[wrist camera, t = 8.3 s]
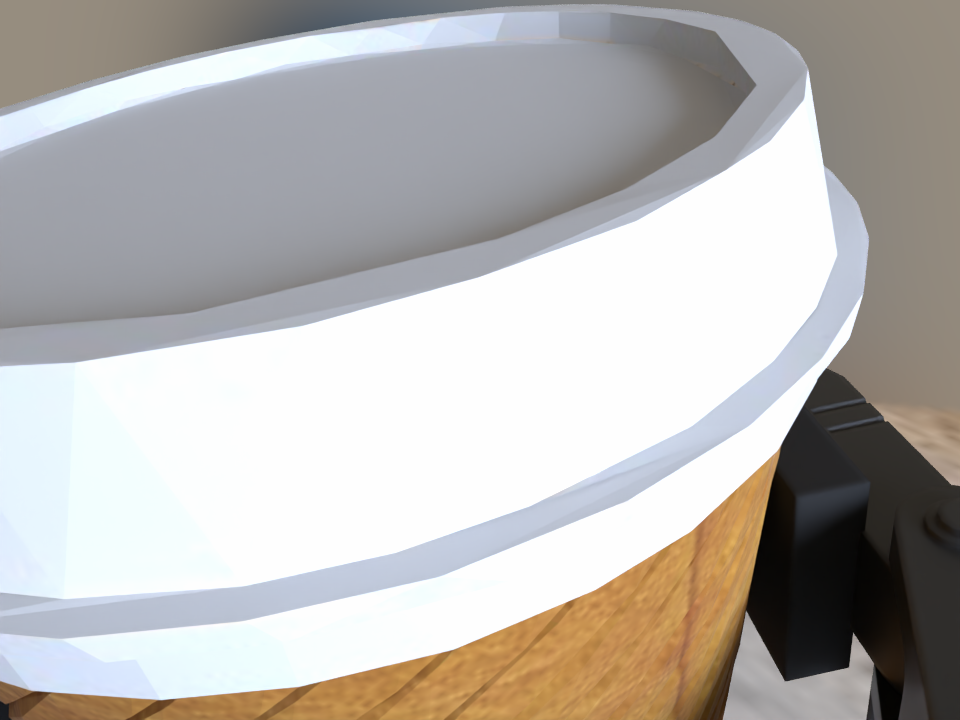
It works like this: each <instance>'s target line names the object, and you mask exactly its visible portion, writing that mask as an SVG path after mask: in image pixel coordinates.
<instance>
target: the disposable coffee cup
mask: <svg viewBox="0 0 960 720" xmlns="http://www.w3.org/2000/svg"><path fill="white" fill-rule="evenodd" d="M868 244H869V237H868V234H867V231H866V228H865V225H864V221H863V218H862V215H861V212H860V209H859V206H858V203H857V202H856V200H855V199H854V198H853V197H852V196H851V194H850V193H849V192H848V191H847V190H846V188H845V187H844V186H843V185H842V184H841V182H840V181H839V180H838V179H837V178H836V177H835V175H834V174H833V173H832V172H831V171H830V170H829V169H827V168H826V167H824V166H823V161H822V155H821V149H820V142H819V136H818V130H817V123H816V117H815V111H814V105H813V98H812V91H811V86H810V79H809V73H808V67H807V66H806V64H805V62H804V60H803V59H802V57H801V55H800V54H799V52H798V50H796V49H795V48H794V47H792V46H791V45H790V44H788V43H787V42H786V41H784V40H783V39H782V38H780V37H779V36H778V35H776V34H775V33H773V32H770V31H768V30H765V29H763V28H760V27H757V26H755V25H752V24H749V23H746V22H744V21H741V20H736V19H731V18H726V17H721V16H717V15H712V14H707V13H702V12H697V11H686V10H674V9H661V8H649V7H635V6H624V5H610V4H593V5H592V4H589V5H546V6H545V5H543V6H518V7H498V8H488V9H479V10H470V11H459V12H450V13H441V14H431V15H422V16H412V17H403V18H394V19H384V20H376V21H368V22H363V23H357V24H351V25H345V26H339V27H333V28H327V29H322V30H316V31H311V32H305V33H299V34H293V35H287V36H281V37H276V38H270V39H264V40H259V41H254V42H250V43H245V44H240V45H235V46H231V47H226V48H222V49H216V50H211V51H207V52H202V53H197V54H192V55H187V56H183V57H179V58H175V59H171V60H167V61H163V62H160V63H155V64H152V65H148V66H144V67H140V68H137V69H133V70H129V71H125V72H121V73H117V74H114V75H110V76H106V77H102V78H98V79H94V80H91V81H87V82H84V83H81V84H78V85H75V86H71V87H68V88H65V89H62V90H58V91H55V92H52V93H49V94H46V95H43V96H39V97H36V98H33V99H30V100H27V101H24V102H21V103H17V104H14V105H11V106H8V107H5V108H1V109H0V701H1V702H3V703H4V704H8V703H9V718H10V719H12V720H723V715H724V711H725V706H726V701H727V697H728V692H729V686H730V682H731V677H732V672H733V667H734V663H735V659H736V656H737V652H738V649H739V646H740V640H741V635H742V630H743V624H744V619H745V613H746V608H747V602H748V597H749V592H750V586H751V581H752V575H753V570H754V565H755V560H756V555H757V551H758V546H759V541H760V536H761V531H762V526H763V522H764V517H765V512H766V507H767V502H768V497H769V492H770V488H771V483H772V479H773V475H774V472H775V469H776V465H777V462H778V459H779V454H780V448H781V444H782V442H783V440H784V438H785V437H786V435H787V433H788V431H789V430H790V428H791V426H792V424H793V422H794V421H795V419H796V417H797V415H798V414H799V412H800V410H801V408H802V407H803V405H804V403H805V401H806V400H807V398H808V396H809V394H810V392H811V391H812V389H813V387H814V385H815V384H816V382H817V379H818V378H819V376H820V375H821V374H822V372H823V371H824V370H825V369H826V367H827V366H828V365H829V363H830V362H831V361H832V360H833V358H834V357H835V356H836V355H837V353H838V352H839V350H840V349H841V348H842V347H843V346H844V344H845V343H846V342H847V340H848V339H849V337H850V334H851V331H852V328H853V325H854V321H855V318H856V315H857V312H858V309H859V306H860V302H861V299H862V296H863V293H864V283H865V273H866V263H867V254H868Z"/></svg>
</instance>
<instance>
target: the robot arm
mask: <svg viewBox="0 0 960 720" xmlns="http://www.w3.org/2000/svg"><path fill="white" fill-rule="evenodd" d="M746 611H747V613H748V615H749V616H750V618H751V620H752V622H753V624H754V625H755V627H756V629H757V631H758V633H759V635H760V636H761V638H762V640H763V642H764V644H765V646H766V647H767V649H768V651H769V653H770V655H771V656H772V658H773V660H774V662H775V664H776V666H777V667H778V669H779V671H780V673H781V675H782V676H783V678H784V680H785V681H790V680H794V679H799V678H803V677H808V676H812V675H817V674H821V673H826V672H830V671H835V670H840V669H844V668H849V663H850V654H851V645H852V637H853V633H854V634H855V636H856V637H857V639H858V640H859V642H860V643H861V644H862V646H863V647H864V649H865V650H866V652H867V653H868V655H869V656H870V658H871V659H872V661H873V662H874V669H873V676H872V684H871V691H870V698H869V705H868V712H867V720H960V486H956V485H951V484H950V483H949V482H948V481H947V480H946V479H945V478H944V477H943V476H942V475H941V474H940V473H939V472H938V471H937V470H936V469H935V468H934V467H933V466H932V465H931V464H930V463H929V462H928V461H927V460H926V459H925V458H924V457H923V456H922V455H921V454H920V453H919V452H918V451H917V450H916V449H915V448H914V447H913V446H912V445H911V444H910V443H909V442H908V441H907V440H906V439H905V438H904V437H903V436H902V435H901V434H900V433H899V432H898V431H897V430H896V429H895V428H894V427H893V426H892V425H891V424H890V423H889V422H888V421H887V422H885V421H884V418H883V416H882V415H881V414H880V413H879V412H878V411H877V410H876V409H875V408H874V407H873V406H872V405H871V404H870V403H866V400H865V398H864V397H863V396H862V395H861V394H860V393H859V392H858V391H857V390H856V389H855V388H854V387H853V386H852V385H851V384H850V383H849V382H848V381H847V380H846V379H845V378H844V377H843V376H841V375H839V374H837V373H835V372H833V371H831V370H829V369H827V368H826V369H825V370H824V371H823V372H822V374H821V375H820V376H819V378H818V379H817V382H816V384H815V385H814V387H813V389H812V391H811V392H810V394H809V396H808V398H807V400H806V401H805V403H804V405H803V407H802V408H801V410H800V412H799V414H798V415H797V417H796V419H795V421H794V422H793V424H792V426H791V428H790V430H789V431H788V433H787V435H786V437H785V438H784V440H783V442H782V444H781V448H780V454H779V459H778V462H777V465H776V469H775V472H774V475H773V479H772V483H771V488H770V492H769V497H768V502H767V507H766V512H765V517H764V522H763V526H762V531H761V536H760V541H759V546H758V551H757V555H756V560H755V565H754V570H753V575H752V581H751V586H750V592H749V597H748V602H747V608H746ZM0 720H12V719H10V718H9V703H8V704H4V703H3V702H1V701H0Z"/></svg>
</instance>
